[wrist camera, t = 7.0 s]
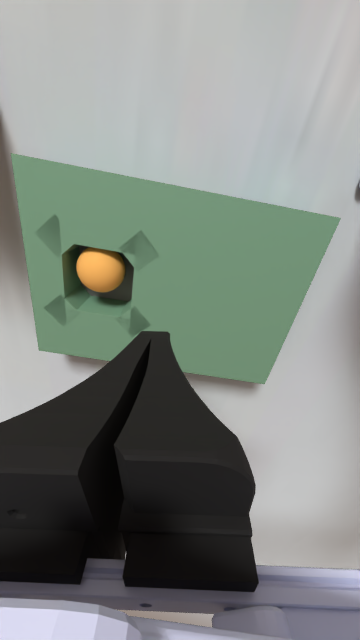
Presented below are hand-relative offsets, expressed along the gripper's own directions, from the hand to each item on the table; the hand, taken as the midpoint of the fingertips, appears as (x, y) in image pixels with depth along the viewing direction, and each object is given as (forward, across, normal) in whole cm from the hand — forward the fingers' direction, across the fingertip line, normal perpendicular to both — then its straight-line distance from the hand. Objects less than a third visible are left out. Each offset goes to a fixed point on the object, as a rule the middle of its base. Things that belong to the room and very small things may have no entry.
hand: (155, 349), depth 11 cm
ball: (+8, +5, -1) cm, 10 cm away
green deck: (+10, 0, 0) cm, 10 cm away
